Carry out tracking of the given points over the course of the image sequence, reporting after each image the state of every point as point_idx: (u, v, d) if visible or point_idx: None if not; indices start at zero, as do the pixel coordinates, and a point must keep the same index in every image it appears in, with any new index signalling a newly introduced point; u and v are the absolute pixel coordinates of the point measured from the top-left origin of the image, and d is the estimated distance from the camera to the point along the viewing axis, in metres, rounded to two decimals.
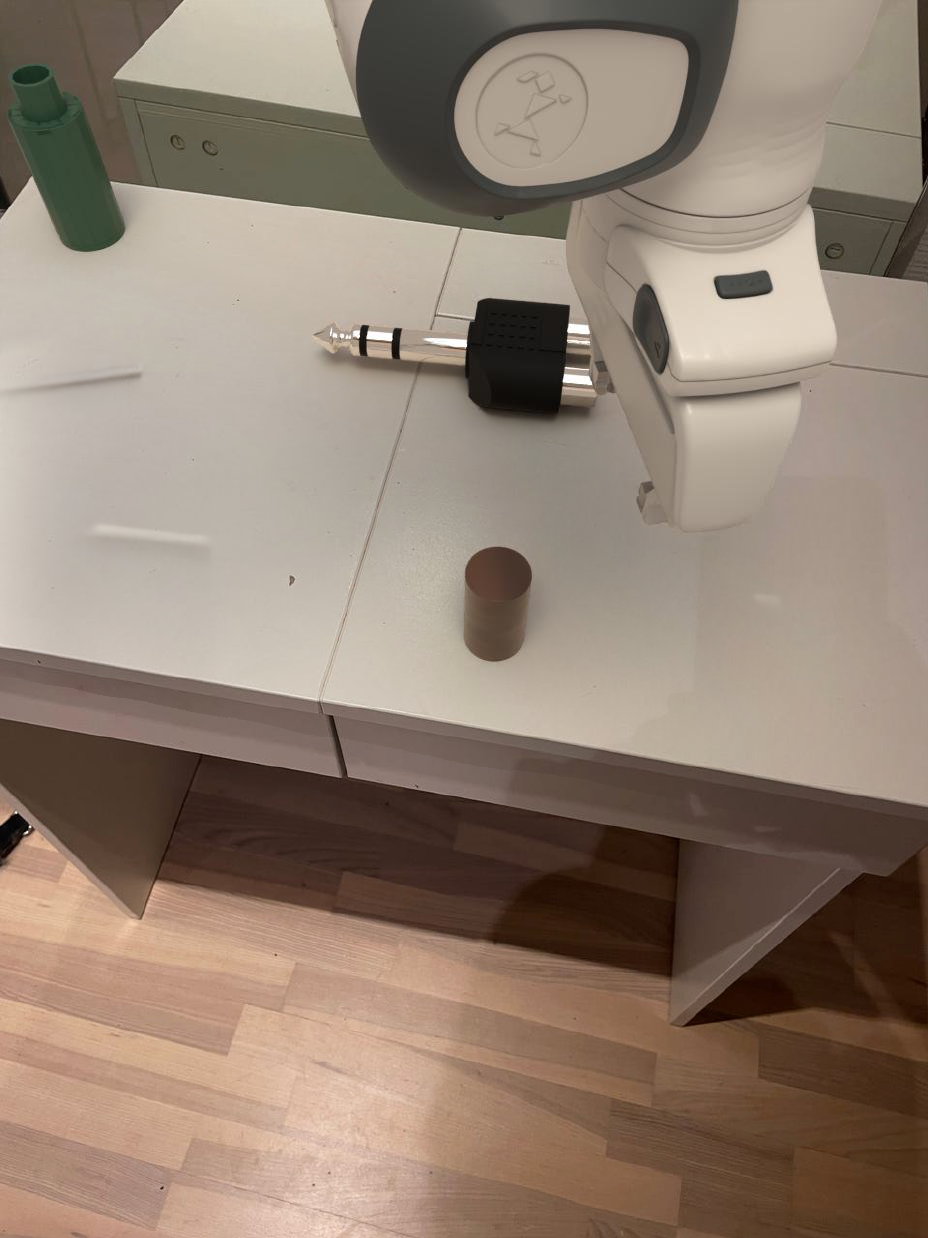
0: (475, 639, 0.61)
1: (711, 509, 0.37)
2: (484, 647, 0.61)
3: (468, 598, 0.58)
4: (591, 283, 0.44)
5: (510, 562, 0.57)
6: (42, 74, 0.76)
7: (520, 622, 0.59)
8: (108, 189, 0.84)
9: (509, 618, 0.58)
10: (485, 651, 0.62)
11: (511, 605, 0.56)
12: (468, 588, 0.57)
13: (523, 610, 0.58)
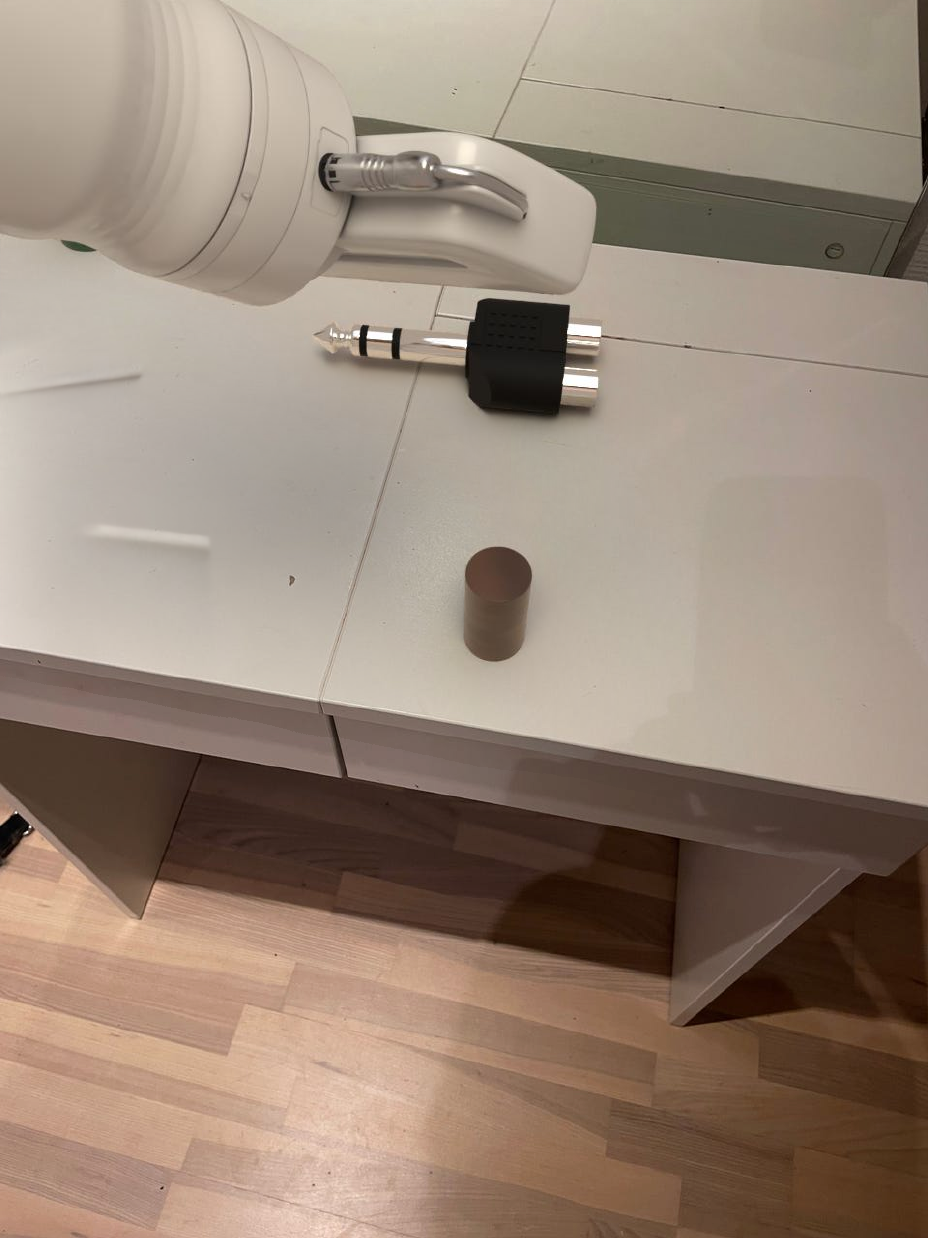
0: (475, 639, 0.61)
1: None
2: (484, 647, 0.61)
3: (468, 598, 0.58)
4: None
5: (510, 562, 0.57)
6: None
7: (520, 622, 0.59)
8: None
9: (509, 618, 0.58)
10: (485, 651, 0.62)
11: (511, 605, 0.56)
12: (468, 588, 0.57)
13: (523, 610, 0.58)
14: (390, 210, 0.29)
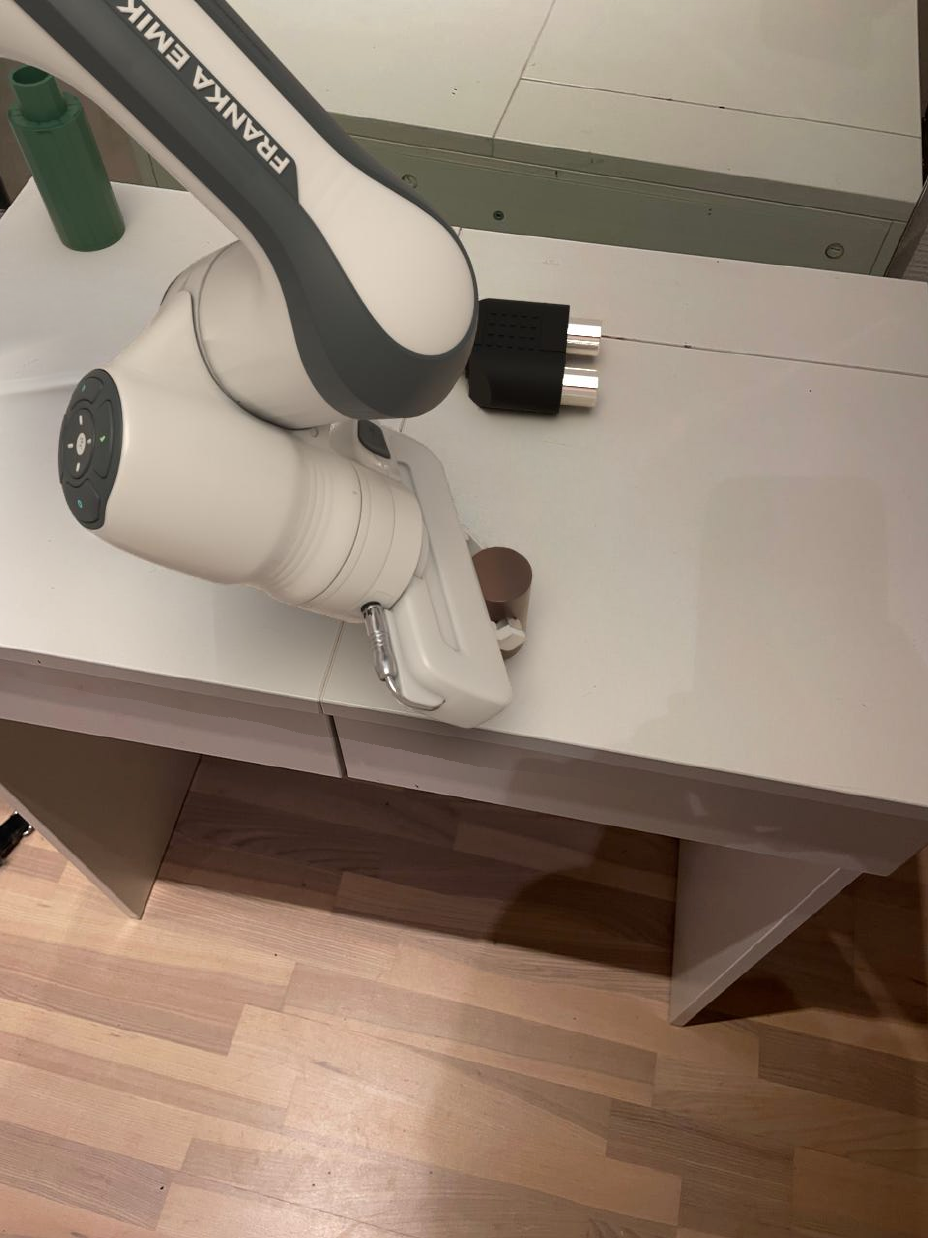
0: None
1: None
2: None
3: None
4: (470, 622, 0.52)
5: (510, 562, 0.57)
6: (42, 74, 0.76)
7: (520, 622, 0.59)
8: (108, 189, 0.84)
9: None
10: None
11: (511, 605, 0.56)
12: None
13: (523, 610, 0.58)
14: None
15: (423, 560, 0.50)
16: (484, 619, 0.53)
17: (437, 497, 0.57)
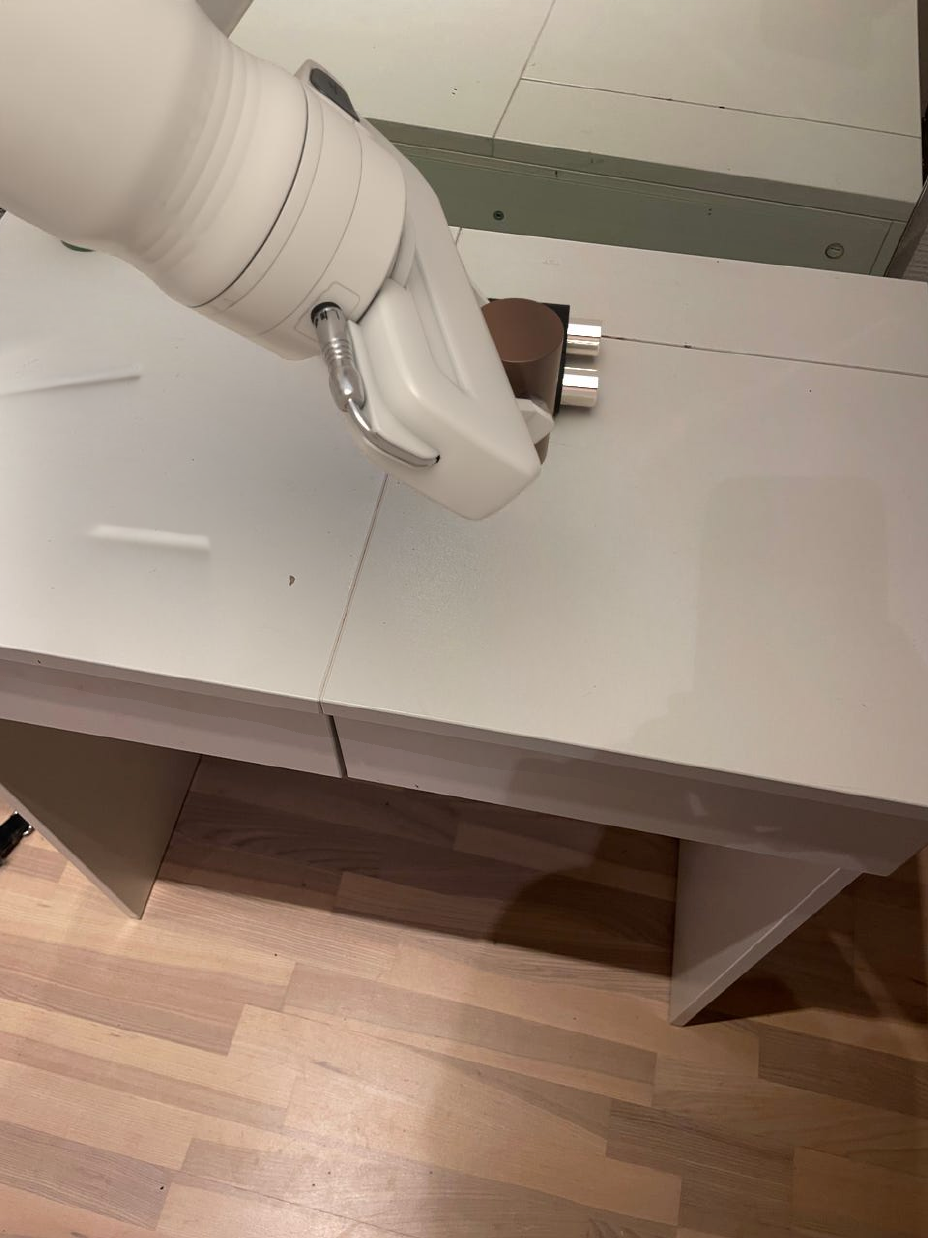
0: None
1: None
2: None
3: None
4: (478, 364, 0.35)
5: (533, 315, 0.41)
6: None
7: None
8: None
9: None
10: None
11: (534, 370, 0.40)
12: None
13: (550, 388, 0.42)
14: None
15: (407, 259, 0.33)
16: (498, 369, 0.36)
17: (429, 221, 0.40)
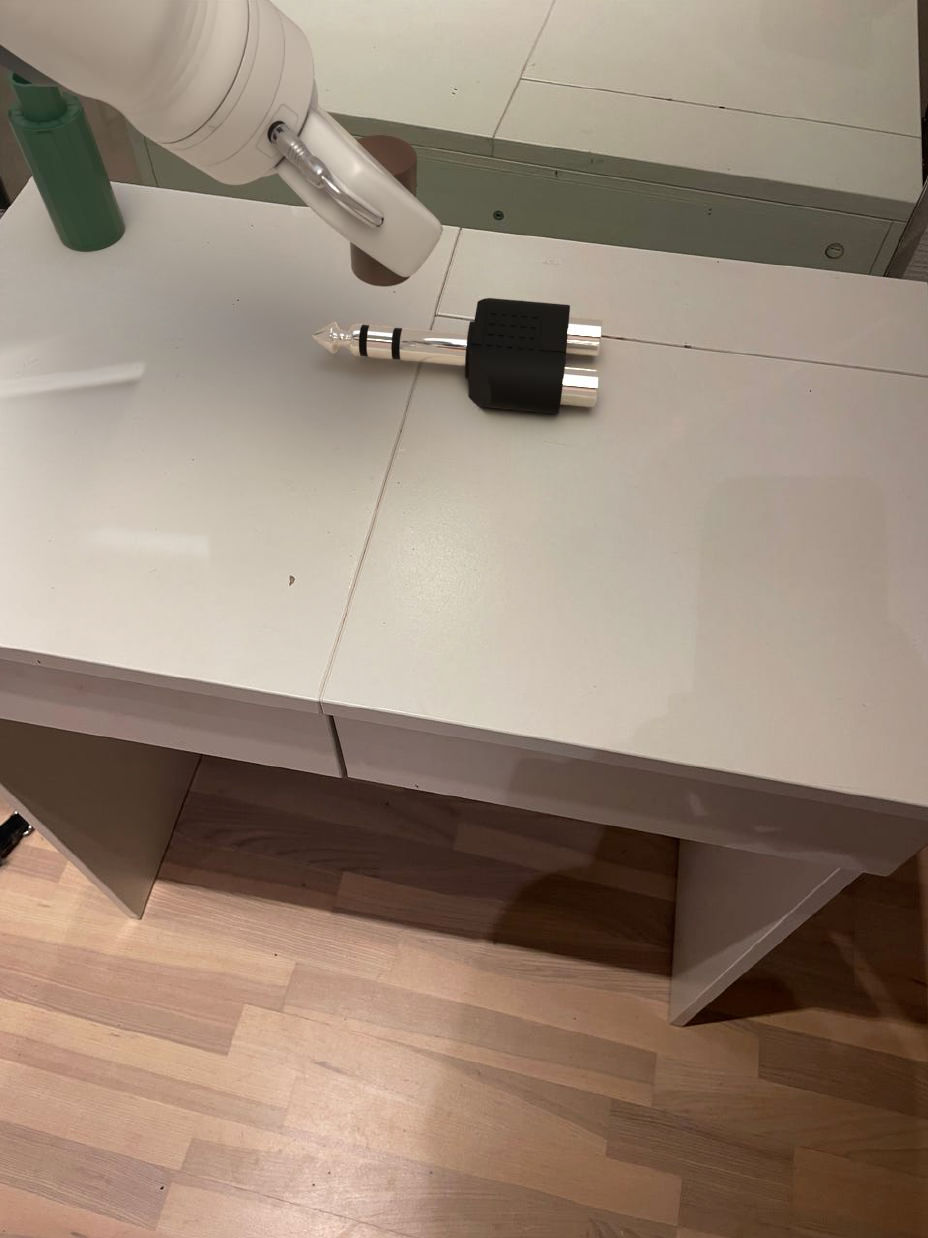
0: (370, 256, 0.58)
1: None
2: (381, 264, 0.58)
3: None
4: (378, 165, 0.49)
5: (389, 144, 0.55)
6: None
7: None
8: (108, 189, 0.84)
9: None
10: (383, 271, 0.59)
11: (404, 181, 0.54)
12: None
13: None
14: (303, 176, 0.45)
15: (314, 92, 0.46)
16: None
17: None
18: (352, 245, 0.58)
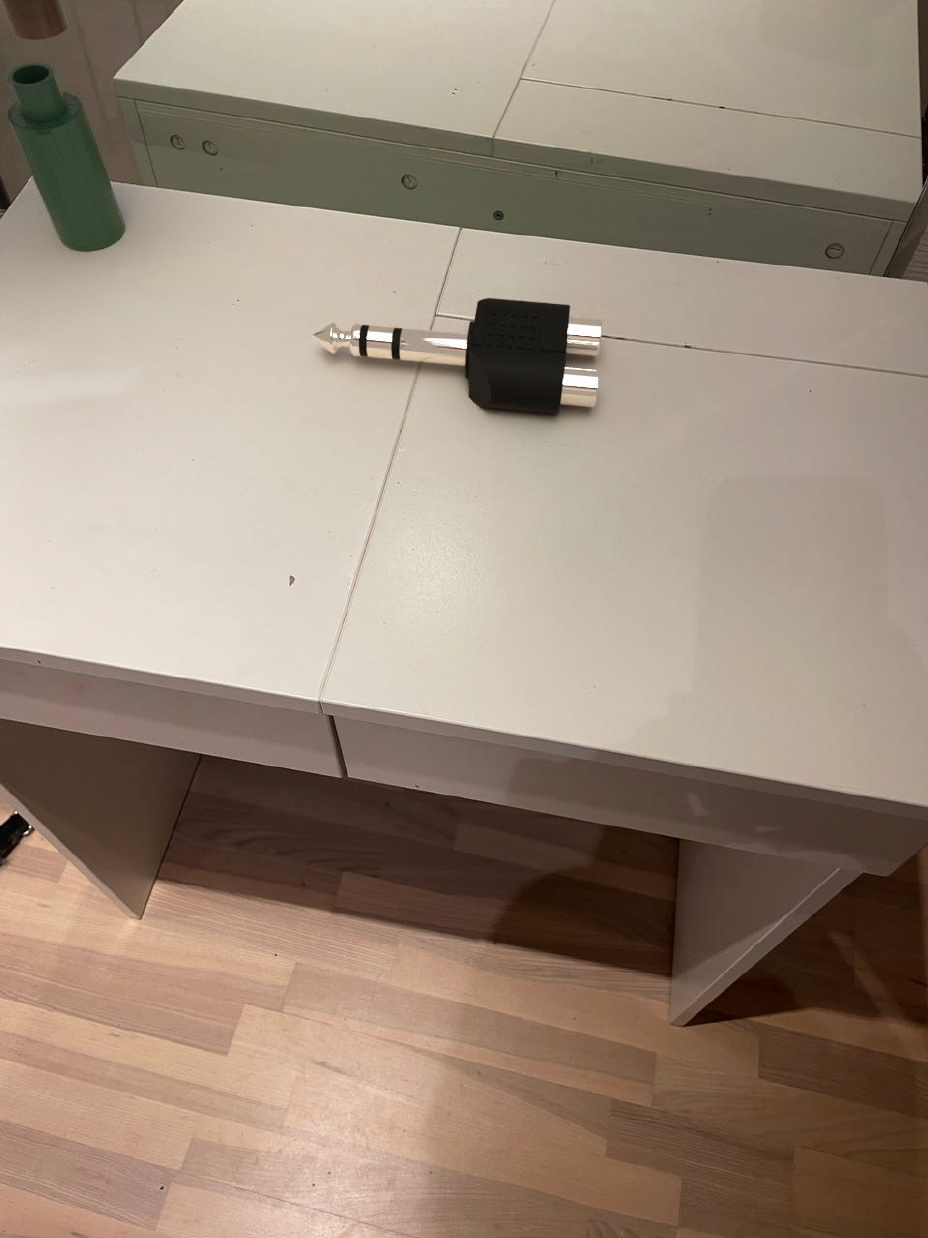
0: (31, 7, 0.68)
1: None
2: (43, 12, 0.68)
3: None
4: None
5: None
6: (42, 74, 0.76)
7: None
8: (108, 189, 0.84)
9: None
10: (47, 19, 0.69)
11: None
12: None
13: None
14: None
15: None
16: None
17: None
18: (10, 7, 0.68)
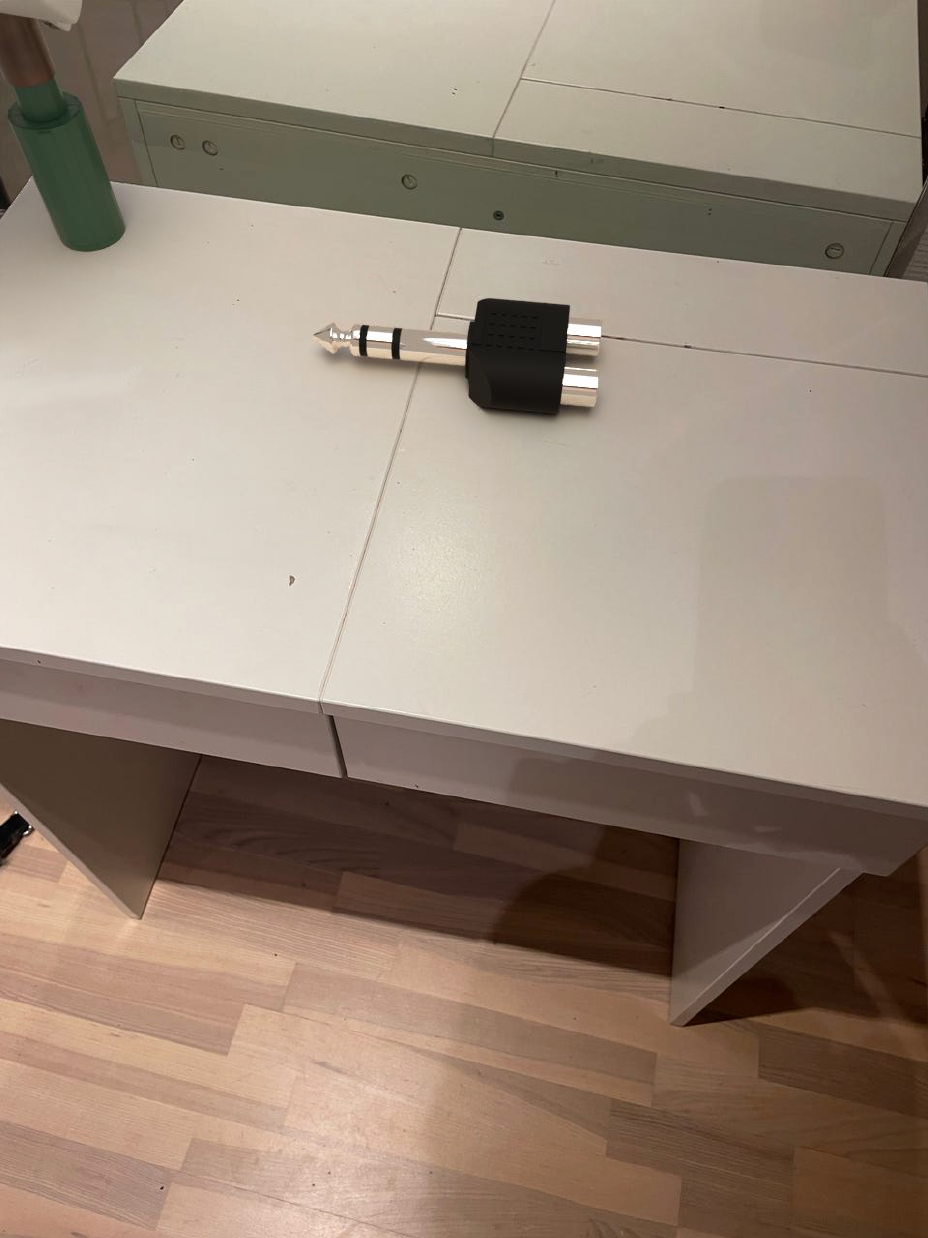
0: (22, 57, 0.72)
1: None
2: (33, 62, 0.73)
3: None
4: None
5: None
6: None
7: None
8: (108, 189, 0.84)
9: None
10: (37, 68, 0.73)
11: None
12: None
13: None
14: None
15: None
16: None
17: None
18: (2, 58, 0.72)
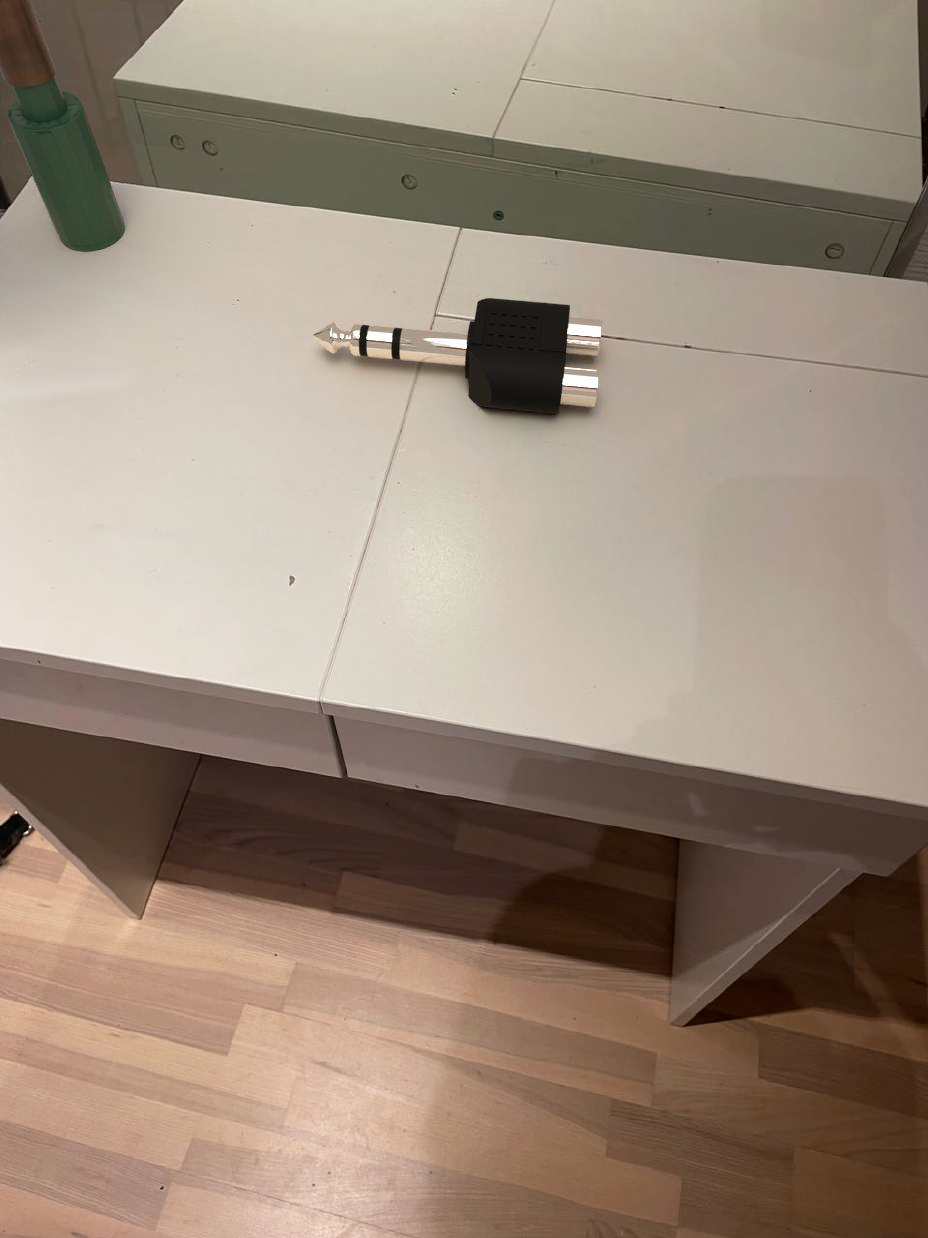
0: (22, 57, 0.72)
1: None
2: (33, 62, 0.73)
3: None
4: None
5: None
6: None
7: None
8: (108, 189, 0.84)
9: (26, 0, 0.70)
10: (37, 68, 0.73)
11: None
12: None
13: None
14: None
15: None
16: None
17: None
18: (2, 58, 0.72)
